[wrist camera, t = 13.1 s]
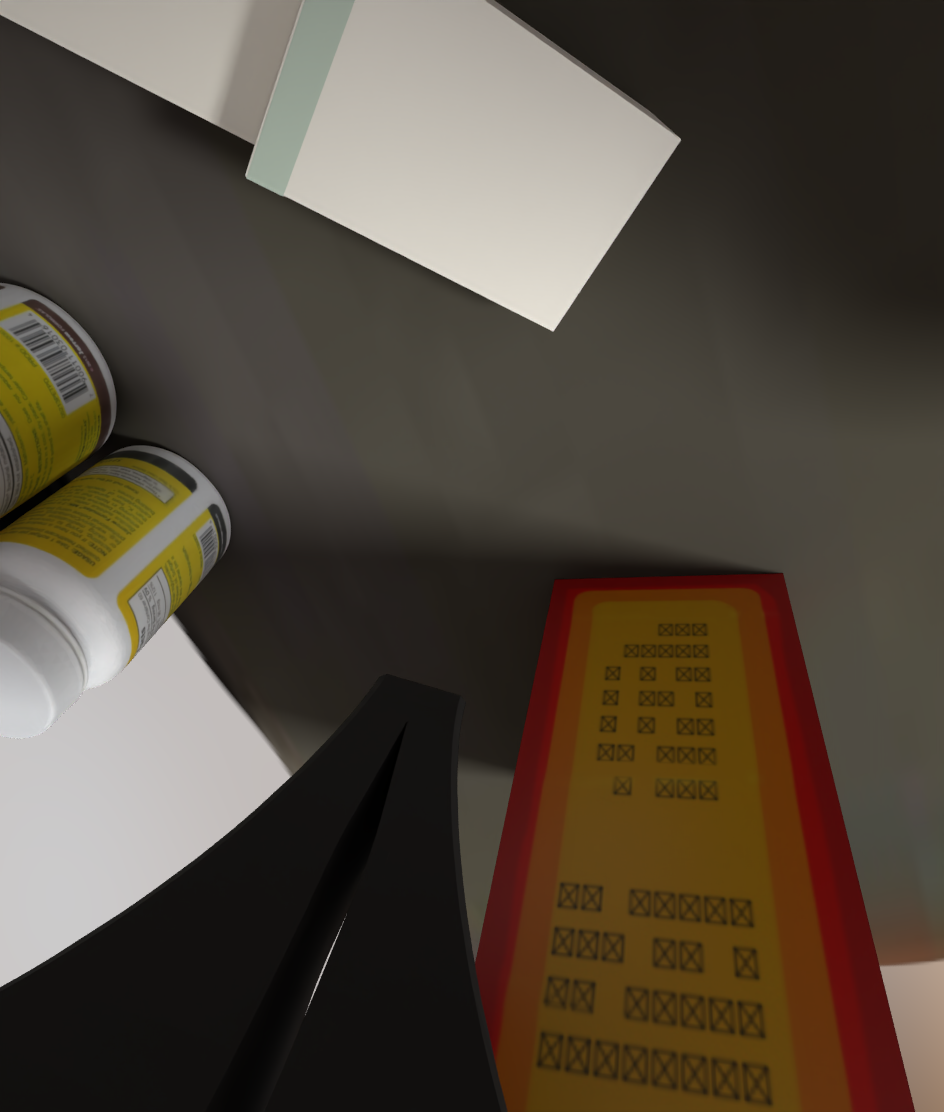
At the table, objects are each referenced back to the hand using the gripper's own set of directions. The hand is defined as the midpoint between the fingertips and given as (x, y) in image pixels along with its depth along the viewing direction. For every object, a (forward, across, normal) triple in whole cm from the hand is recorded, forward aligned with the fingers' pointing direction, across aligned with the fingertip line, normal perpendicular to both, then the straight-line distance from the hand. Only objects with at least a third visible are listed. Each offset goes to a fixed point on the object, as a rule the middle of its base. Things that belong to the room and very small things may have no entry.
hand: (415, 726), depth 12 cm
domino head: (+10, -1, -6) cm, 11 cm away
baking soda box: (+11, -7, +7) cm, 14 cm away
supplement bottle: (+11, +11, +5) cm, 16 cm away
